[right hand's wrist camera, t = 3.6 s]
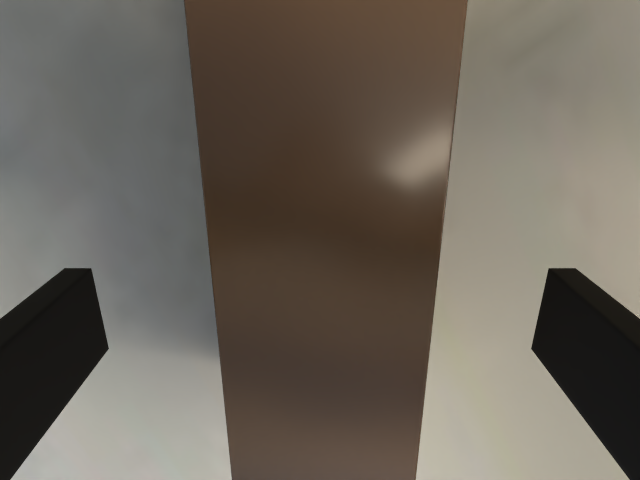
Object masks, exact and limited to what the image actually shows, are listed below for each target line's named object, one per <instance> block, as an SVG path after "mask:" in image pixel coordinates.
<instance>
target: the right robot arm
mask: <svg viewBox="0 0 640 480" xmlns="http://www.w3.org/2000/svg"><path fill="white" fill-rule="evenodd" d="M108 349H109V348H108V343H107V339H106V334H105V329H104V325H103V320H102V316H101V311H100V306H99V302H98V297H97V293H96V288H95V283H94V279H93V274H92V270H91V268H64V269H63V270H62V271H61V272H59V273H58V274H57V275H56V276H54V277H53V278H52V279H50V280H49V281H48V282H47V283H45V284H44V285H43V286H42V287H40V288H39V289H38V290H36V291H35V292H34V293H33V294H31V295H30V296H29V297H28V298H26V299H25V300H24V301H22V302H21V303H20V304H19V305H17V306H16V307H15V308H14V309H12V310H11V311H10V312H8V313H7V314H6V315H5V316H3V317H2V318H1V319H0V480H10V479H11V478H12V477H13V475H14V474H15V473H16V471H17V470H18V469H19V467H20V466H21V465H22V463H23V462H24V461H25V459H26V458H27V457H28V455H29V454H30V453H31V451H32V450H33V449H34V447H35V446H36V445H37V443H38V442H39V441H40V439H41V438H42V437H43V435H44V434H45V433H46V431H47V430H48V429H49V427H50V426H51V425H52V423H53V422H54V421H55V419H56V418H57V417H58V415H59V414H60V413H61V411H62V410H63V409H64V407H65V406H66V405H67V403H68V402H69V401H70V399H71V398H72V397H73V395H74V394H75V393H76V391H77V390H78V389H79V387H80V386H81V385H82V384H83V382H84V381H85V380H86V378H87V377H88V376H89V374H90V373H91V372H92V370H93V369H94V368H95V366H96V365H97V364H98V362H99V361H100V360H101V358H102V357H103V356H104V354H105V353H106V352H107V350H108ZM531 349H532V350H533V352H534V353H535V354H536V356H537V357H538V358H539V360H540V361H541V362H542V364H543V365H544V366H545V368H546V369H547V370H548V372H549V373H550V374H551V376H552V377H553V378H554V380H555V381H556V382H557V384H558V385H559V386H560V387H561V389H562V390H563V391H564V393H565V394H566V395H567V397H568V398H569V399H570V401H571V402H572V403H573V405H574V406H575V407H576V409H577V410H578V411H579V413H580V414H581V415H582V417H583V418H584V419H585V421H586V422H587V423H588V425H589V426H590V427H591V429H592V430H593V431H594V433H595V434H596V435H597V437H598V438H599V439H600V441H601V442H602V443H603V445H604V446H605V447H606V449H607V450H608V451H609V453H610V454H611V455H612V457H613V458H614V459H615V461H616V462H617V463H618V465H619V466H620V467H621V469H622V470H623V471H624V473H625V474H626V475H627V477H628V478H629V479H630V480H640V319H639V318H638V317H637V316H635V315H634V314H633V313H632V312H630V311H629V310H628V309H626V308H625V307H624V306H623V305H621V304H620V303H619V302H618V301H616V300H615V299H614V298H612V297H611V296H610V295H609V294H607V293H606V292H605V291H604V290H602V289H601V288H600V287H598V286H597V285H596V284H595V283H593V282H592V281H591V280H590V279H588V278H587V277H586V276H584V275H583V274H582V273H581V272H579V271H578V270H577V269H576V268H549V270H548V274H547V279H546V283H545V288H544V293H543V297H542V302H541V306H540V311H539V316H538V320H537V325H536V329H535V334H534V339H533V343H532V348H531Z"/></svg>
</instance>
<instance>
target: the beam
mask: <svg viewBox="0 0 640 480" xmlns="http://www.w3.org/2000/svg"><path fill="white" fill-rule="evenodd" d="M467 2H468V0H184V5H185V15H186V25H187V35H188V45H189V55H190V65H191V75H192V85H193V95H194V105H195V115H196V125H197V135H198V145H199V155H200V165H201V175H202V185H203V195H204V205H205V214H206V224H207V234H208V244H209V254H210V264H211V274H212V284H213V294H214V304H215V314H216V324H217V334H218V344H219V354H220V364H221V374H222V384H223V394H224V404H225V414H226V424H227V434H228V444H229V454H230V464H231V474H232V480H416V470H417V461H418V452H419V443H420V434H421V425H422V415H423V406H424V397H425V388H426V379H427V369H428V360H429V351H430V342H431V333H432V324H433V314H434V305H435V296H436V287H437V278H438V268H439V259H440V250H441V241H442V232H443V223H444V213H445V204H446V195H447V186H448V177H449V167H450V158H451V149H452V140H453V131H454V122H455V112H456V103H457V94H458V85H459V76H460V66H461V57H462V48H463V39H464V30H465V21H466V11H467Z"/></svg>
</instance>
